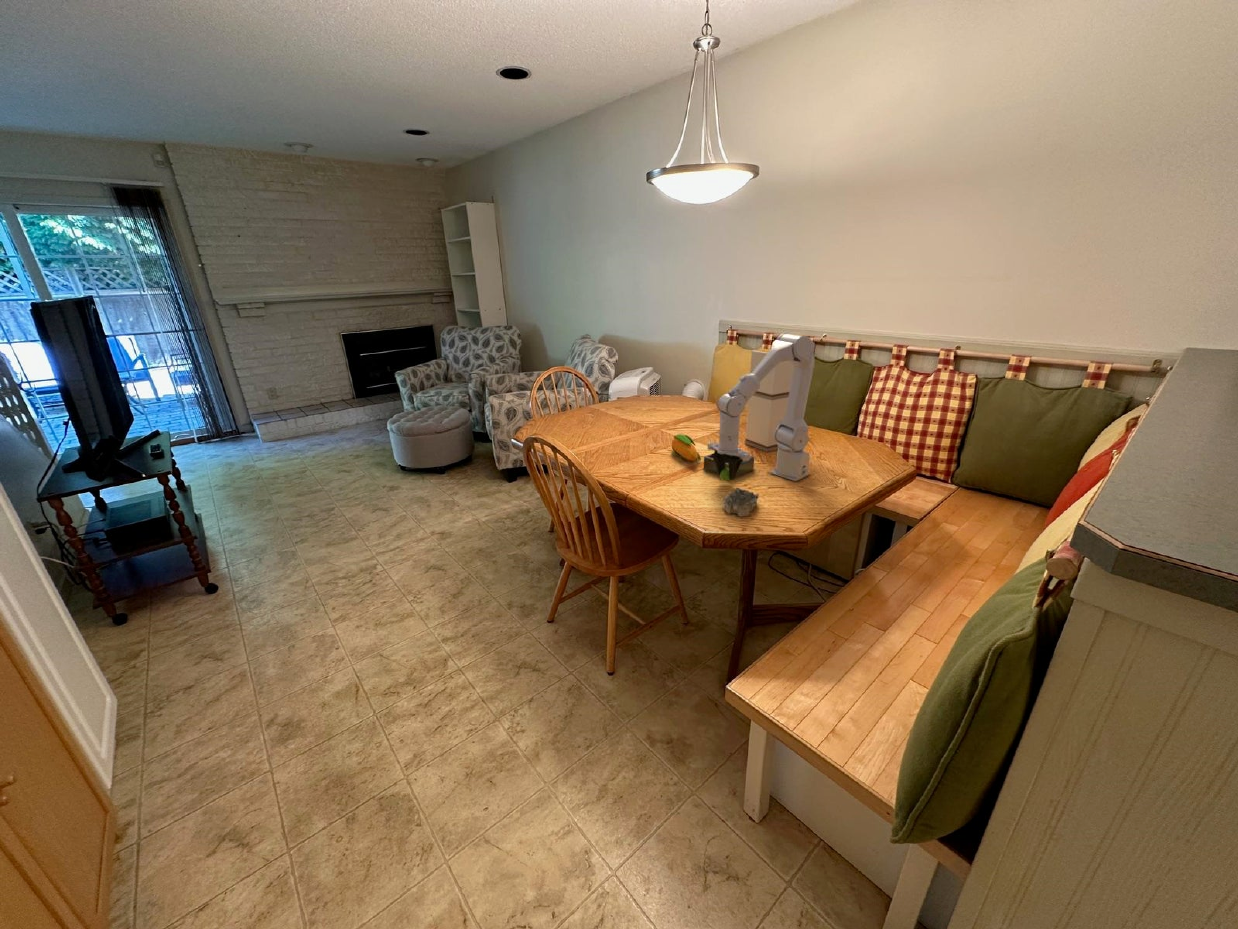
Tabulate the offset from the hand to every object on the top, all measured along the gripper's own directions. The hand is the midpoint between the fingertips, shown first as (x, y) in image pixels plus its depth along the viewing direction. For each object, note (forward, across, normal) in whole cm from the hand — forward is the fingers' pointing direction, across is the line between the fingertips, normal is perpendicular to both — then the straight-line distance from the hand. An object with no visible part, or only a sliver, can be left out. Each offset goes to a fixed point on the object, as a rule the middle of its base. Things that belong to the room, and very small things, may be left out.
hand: (726, 476), depth 147 cm
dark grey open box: (+3, -7, +10) cm, 12 cm away
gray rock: (+3, +13, -10) cm, 17 cm away
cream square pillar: (+3, -13, +40) cm, 42 cm away
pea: (+1, 0, 0) cm, 1 cm away
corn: (+3, -24, +8) cm, 25 cm away
